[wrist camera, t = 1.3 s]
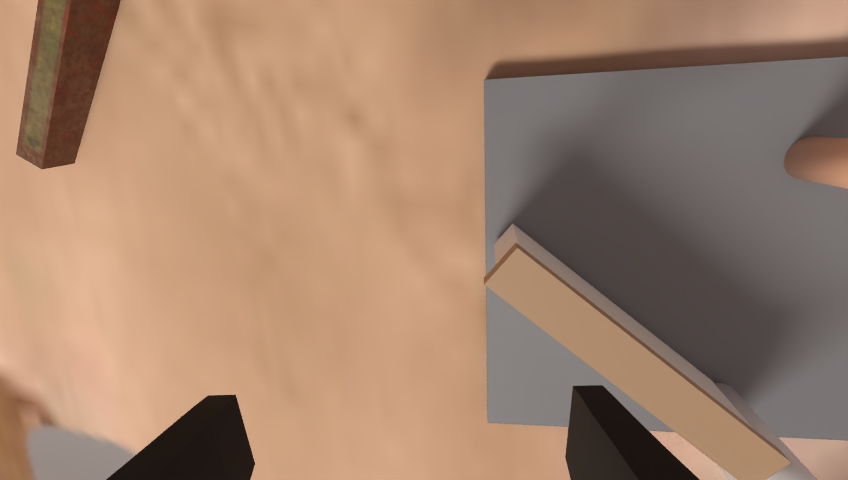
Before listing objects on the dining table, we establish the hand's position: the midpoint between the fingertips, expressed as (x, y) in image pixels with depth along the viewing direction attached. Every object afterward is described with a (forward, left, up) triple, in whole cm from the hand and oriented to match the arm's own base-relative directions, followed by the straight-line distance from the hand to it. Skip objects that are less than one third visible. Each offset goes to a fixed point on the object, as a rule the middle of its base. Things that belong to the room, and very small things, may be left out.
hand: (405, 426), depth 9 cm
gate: (-3, -7, -10) cm, 13 cm away
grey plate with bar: (0, -13, -11) cm, 17 cm away
